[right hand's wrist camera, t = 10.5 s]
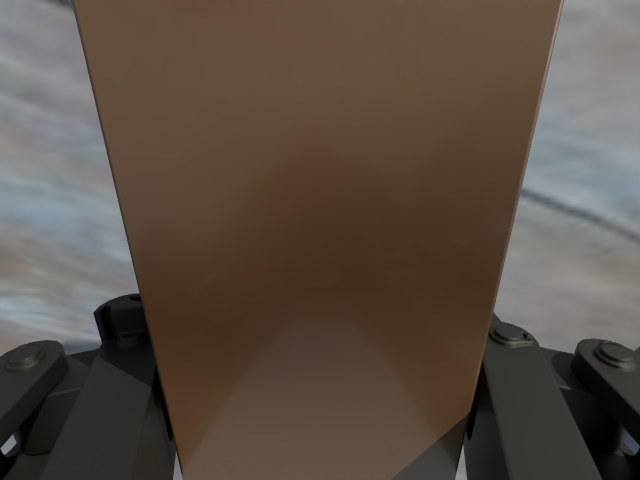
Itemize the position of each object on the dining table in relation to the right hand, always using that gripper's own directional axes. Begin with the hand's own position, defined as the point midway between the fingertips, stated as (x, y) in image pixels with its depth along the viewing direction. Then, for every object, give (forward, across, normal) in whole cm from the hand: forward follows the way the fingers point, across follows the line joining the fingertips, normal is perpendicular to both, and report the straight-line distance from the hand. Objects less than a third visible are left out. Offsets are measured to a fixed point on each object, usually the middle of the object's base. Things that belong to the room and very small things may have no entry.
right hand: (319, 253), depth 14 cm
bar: (+1, 0, -9) cm, 9 cm away
